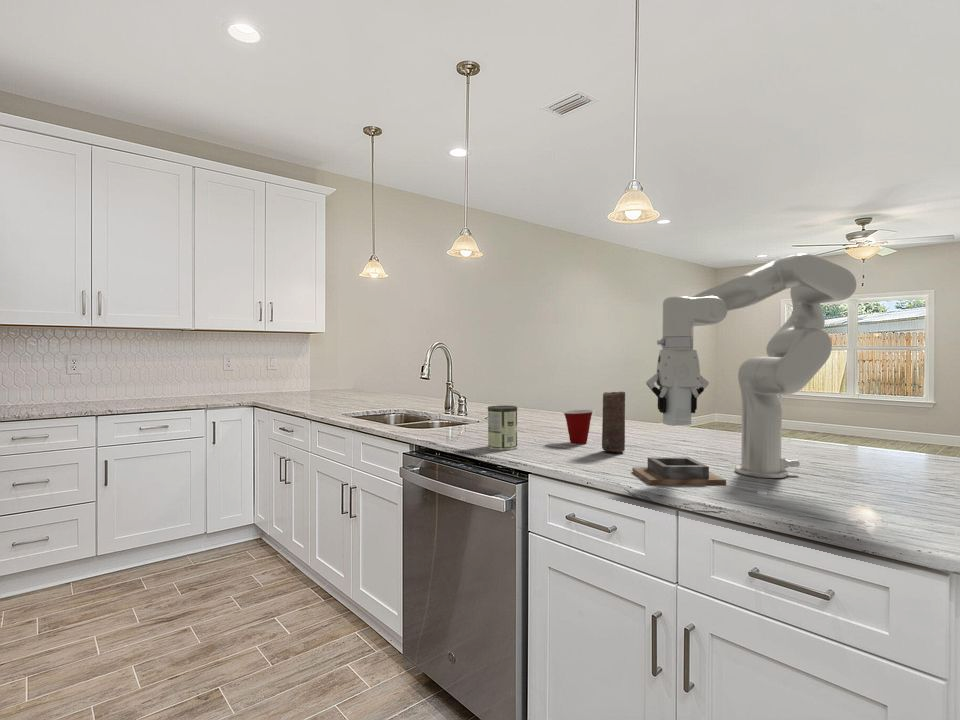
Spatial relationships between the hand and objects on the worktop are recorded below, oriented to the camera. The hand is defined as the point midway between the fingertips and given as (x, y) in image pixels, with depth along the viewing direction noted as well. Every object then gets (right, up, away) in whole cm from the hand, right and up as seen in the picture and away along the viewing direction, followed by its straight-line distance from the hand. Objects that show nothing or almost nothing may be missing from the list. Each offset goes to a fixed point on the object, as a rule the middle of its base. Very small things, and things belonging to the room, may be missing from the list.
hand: (677, 412), depth 134 cm
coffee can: (-44, -17, +43) cm, 64 cm away
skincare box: (0, -4, 0) cm, 4 cm away
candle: (-8, -17, +35) cm, 40 cm away
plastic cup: (-16, -17, +53) cm, 58 cm away
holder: (0, -17, 0) cm, 17 cm away
